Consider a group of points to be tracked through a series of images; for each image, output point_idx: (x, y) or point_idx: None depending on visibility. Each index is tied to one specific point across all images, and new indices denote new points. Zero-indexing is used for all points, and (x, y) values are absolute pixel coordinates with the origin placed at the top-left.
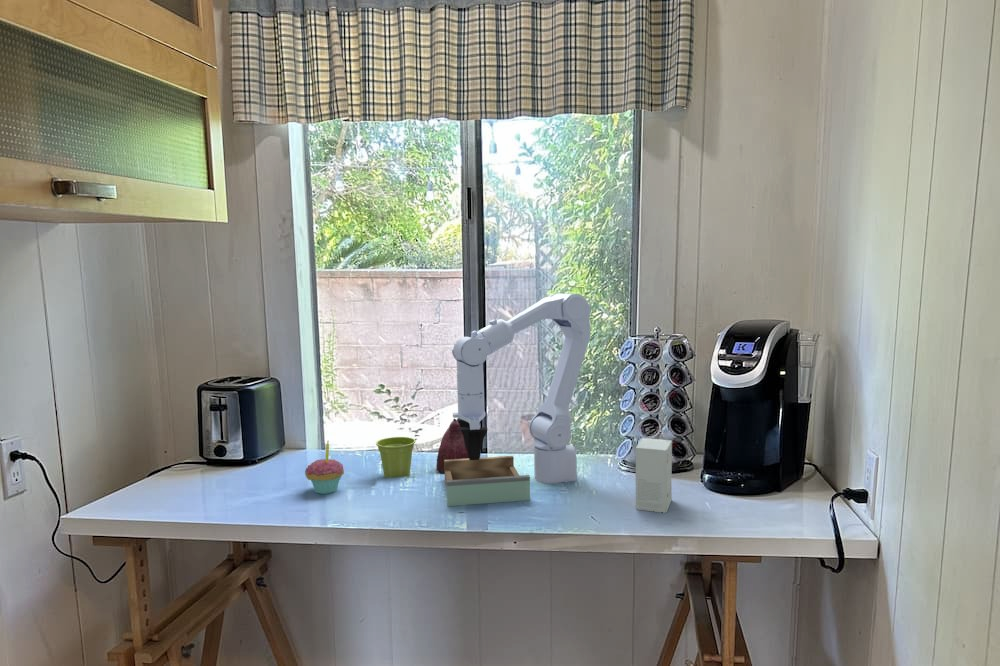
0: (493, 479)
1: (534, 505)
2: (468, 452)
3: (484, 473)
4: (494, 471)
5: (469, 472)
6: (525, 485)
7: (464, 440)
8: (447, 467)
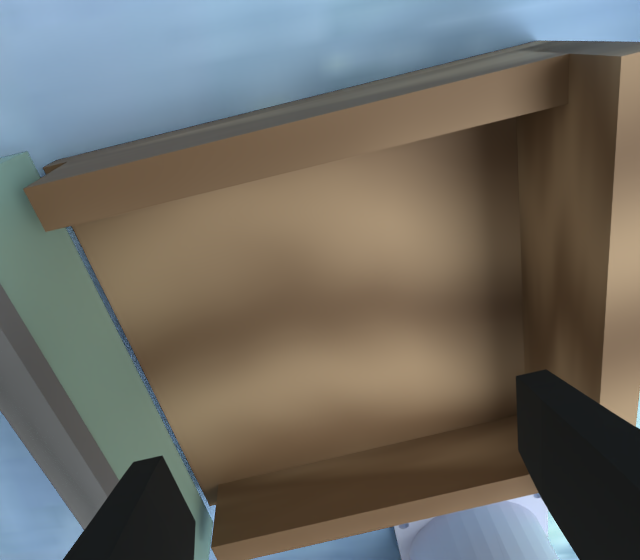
0: (77, 515)
1: (214, 511)
2: (80, 540)
3: (542, 326)
4: None
5: (548, 244)
6: None
7: (587, 448)
8: (580, 82)
